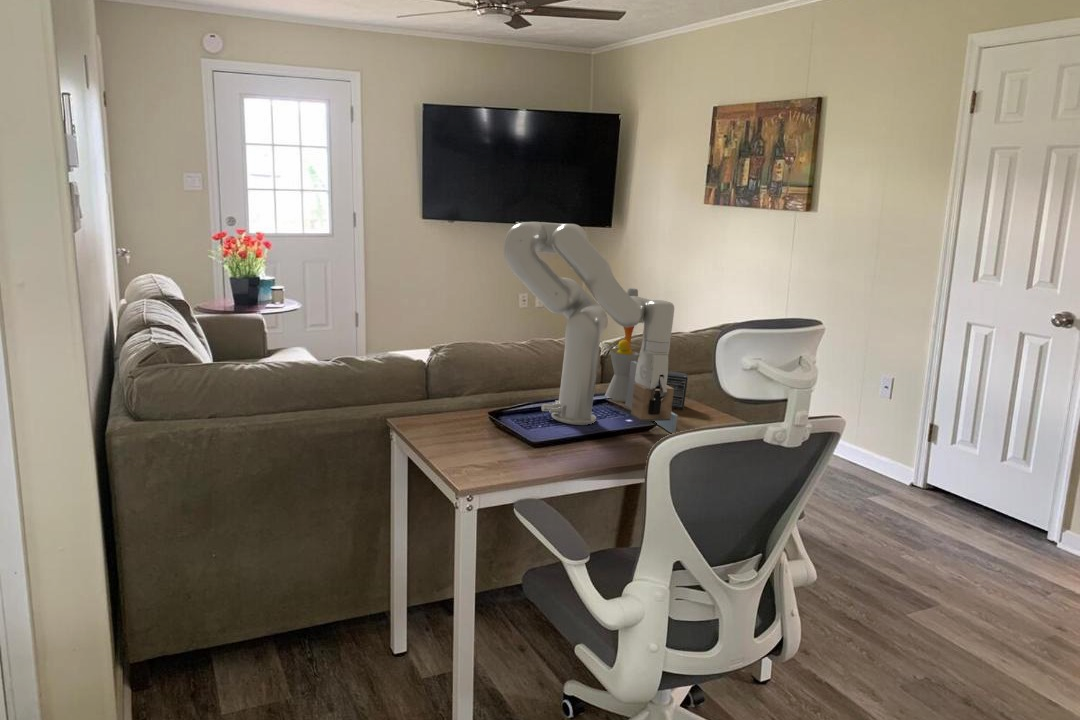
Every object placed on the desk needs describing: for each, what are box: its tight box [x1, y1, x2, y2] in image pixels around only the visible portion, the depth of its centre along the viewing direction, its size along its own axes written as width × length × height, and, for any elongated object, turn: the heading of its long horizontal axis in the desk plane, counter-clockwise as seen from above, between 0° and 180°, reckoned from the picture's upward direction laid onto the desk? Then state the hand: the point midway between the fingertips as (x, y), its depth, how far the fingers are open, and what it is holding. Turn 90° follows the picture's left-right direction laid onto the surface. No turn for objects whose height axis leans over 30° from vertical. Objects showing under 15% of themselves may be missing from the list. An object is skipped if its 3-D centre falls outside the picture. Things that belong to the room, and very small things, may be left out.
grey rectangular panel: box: [624, 360, 638, 410], centre depth 243 cm, size 2×10×16 cm, turn 21°
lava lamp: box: [604, 287, 640, 402], centre depth 253 cm, size 9×9×35 cm
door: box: [654, 411, 679, 434], centre depth 230 cm, size 2×15×5 cm, turn 21°
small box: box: [666, 370, 689, 410], centre depth 253 cm, size 11×6×10 cm, turn 84°
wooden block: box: [630, 383, 674, 422], centre depth 222 cm, size 9×6×9 cm, turn 111°
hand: (648, 410), depth 222 cm, fingers closed on wooden block, 6 cm apart
